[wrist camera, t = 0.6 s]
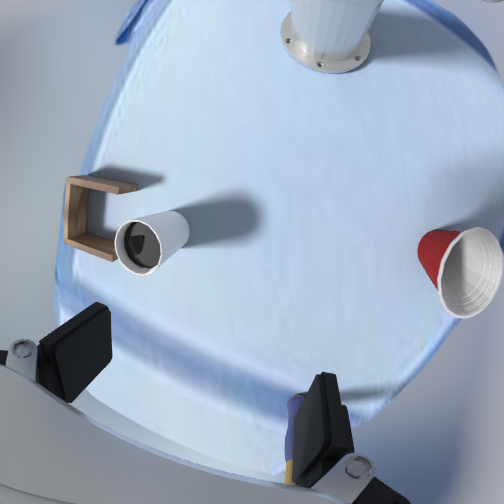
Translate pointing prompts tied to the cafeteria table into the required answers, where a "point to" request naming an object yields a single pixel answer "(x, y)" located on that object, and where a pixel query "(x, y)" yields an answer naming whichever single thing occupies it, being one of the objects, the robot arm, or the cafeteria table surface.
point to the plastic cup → (462, 268)
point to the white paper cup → (150, 241)
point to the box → (78, 214)
